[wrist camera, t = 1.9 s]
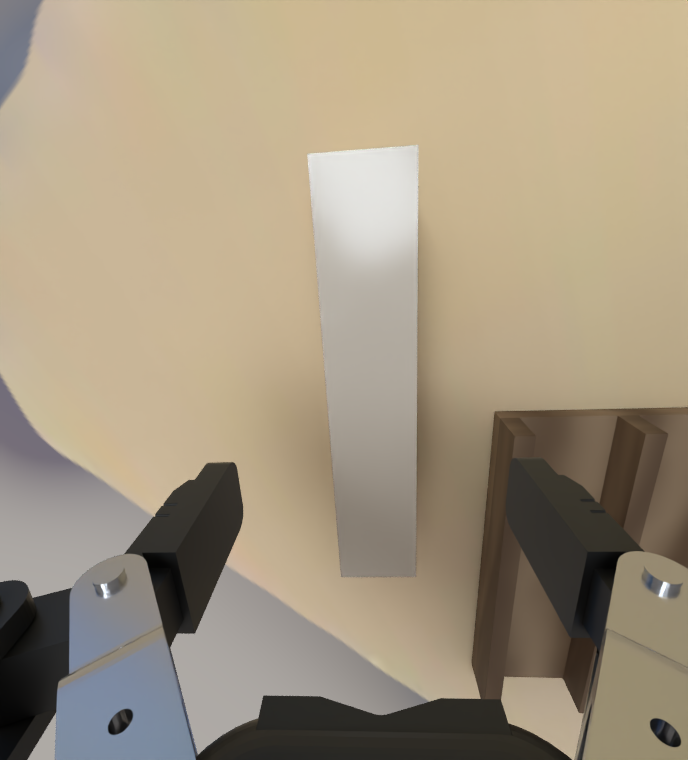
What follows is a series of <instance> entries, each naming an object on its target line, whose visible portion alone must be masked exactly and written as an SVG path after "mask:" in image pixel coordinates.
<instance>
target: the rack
mask: <svg viewBox="0 0 688 760" xmlns="http://www.w3.org/2000/svg"><path fill="white" fill-rule="evenodd" d="M530 457H541V458H543V459H544V460H545V461H546V462H547V463H548V464H549V465H550V466H551V467H552V469H553V470H554V471H555V472H556V473H557V474H558V475H565V476H567V477H568V478H570V479H572V480H573V481H575V482H577V483H578V484H580V485H582V486H583V487H584V488H585V489H586V490H587V491H588V492H589V493H590V494H591V495H592V496H593V498H594V499H595V502H598V503H599V504H600V505H601V506H602V507H603V508H604V509H605V511H606V513H609V514H610V515H611V517H612V518H613V519H614V520H615V521H616V522H617V523H618V524H619V525H620V526H621V527H622V528H623V529H624V530H625V531H626V532H627V533H628V534H629V536H630V537H631V538H632V539H633V540H634V541H635V542H636V543H637V544H638V545H639V546H640V547H641V548H642V549H643V550H644V551H645V552H649V553H653V554H657V555H660V556H663V557H666V558H668V559H671V560H673V561H675V562H677V563H679V564H680V565H682V566H684V567H685V568H687V569H688V408H644V409H597V410H550V411H503V412H495V416H494V427H493V438H492V449H491V460H490V471H489V482H488V493H487V504H486V514H485V525H484V536H483V547H482V558H481V569H480V580H479V591H478V602H477V613H476V624H475V635H474V645H473V656H472V666H473V670H474V674H475V678H476V682H477V685H478V689H479V693H480V697H481V699H501V695H502V688H503V680H504V676H505V677H546V678H563V679H564V681H565V683H566V686H567V688H568V690H569V692H570V694H571V696H572V699H573V701H574V703H575V705H576V707H577V709H578V712H579V713H584V709H585V704H586V699H587V694H588V688H589V683H590V678H591V673H592V668H593V662H594V657H595V653H596V649H597V647H596V646H595V644H594V642H593V640H592V639H591V638H570V637H569V635H568V633H567V631H566V629H565V628H564V626H563V624H562V622H561V620H560V618H559V616H558V615H557V613H556V611H555V609H554V607H553V605H552V604H551V602H550V600H549V598H548V596H547V594H546V593H545V591H544V589H543V587H542V585H541V583H540V582H539V580H538V578H537V576H536V574H535V572H534V570H533V569H532V567H531V565H530V563H529V561H528V559H527V558H526V556H525V554H524V552H523V550H522V548H521V547H520V545H519V543H518V541H517V539H516V537H515V535H514V534H513V532H512V530H511V528H510V526H509V523H508V520H507V516H506V495H507V486H508V477H509V468H510V463H511V460H512V459H513V458H530Z"/></svg>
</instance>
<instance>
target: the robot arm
mask: <svg viewBox="0 0 688 760" xmlns="http://www.w3.org/2000/svg"><path fill="white" fill-rule="evenodd" d="M506 516H507V520H508V523H509V526H510V528H511V530H512V532H513V534H514V535H515V537H516V539H517V541H518V543H519V545H520V547H521V548H522V550H523V552H524V554H525V556H526V558H527V559H528V561H529V563H530V565H531V567H532V569H533V570H534V572H535V574H536V576H537V578H538V580H539V582H540V583H541V585H542V587H543V589H544V591H545V593H546V594H547V596H548V598H549V600H550V602H551V604H552V605H553V607H554V609H555V611H556V613H557V615H558V616H559V618H560V620H561V622H562V624H563V626H564V628H565V629H566V631H567V633H568V635H569V637H570V638H591V639H592V640H593V642H594V644H595V646H596V647H597V649H596V653H595V657H594V662H593V668H592V673H591V678H590V683H589V688H588V694H587V699H586V704H585V709H584V715H583V720H582V725H581V730H580V735H579V740H578V745H577V750H576V754H575V759H574V760H688V569H687V568H685V567H684V566H682V565H680V564H679V563H677V562H675V561H673V560H671V559H668V558H666V557H663V556H660V555H657V554H653V553H649V552H645V551H644V550H643V549H642V548H641V547H640V546H639V545H638V544H637V543H636V542H635V541H634V540H633V539H632V538H631V537H630V536H629V534H628V533H627V532H626V531H625V530H624V529H623V528H622V527H621V526H620V525H619V524H618V523H617V522H616V521H615V520H614V519H613V518H612V517H611V515H610V514H609V513H606V511H605V509H604V508H603V507H602V506H601V505H600V504H599V503H598V502H595V499H594V498H593V496H592V495H591V494H590V493H589V492H588V491H587V490H586V489H585V488H584V487H583V486H582V485H580V484H578V483H577V482H575V481H573V480H572V479H570V478H568V477H567V476H565V475H558V474H557V473H556V472H555V471H554V470H553V469H552V467H551V466H550V465H549V464H548V463H547V462H546V461H545V460H544V459H543V458H541V457H530V458H513V459H512V460H511V463H510V468H509V477H508V486H507V495H506ZM242 520H243V503H242V497H241V491H240V484H239V478H238V472H237V467H236V465H235V463H233V462H223V463H207V464H206V465H205V467H204V468H203V469H202V471H201V472H200V473H199V475H198V476H197V478H196V479H195V480H188V481H187V482H185V483H184V484H183V485H181V486H180V487H178V488H177V489H176V490H174V491H173V492H172V494H171V495H170V496H169V497H168V499H167V500H166V501H165V503H164V506H161V508H160V509H159V510H158V511H157V513H156V514H155V517H153V518H152V519H151V520H150V522H149V523H148V524H147V526H146V527H145V528H144V529H143V531H142V532H141V533H140V535H139V536H138V537H137V538H136V540H135V541H134V542H133V544H132V545H131V546H130V548H129V549H128V550H127V551H126V553H125V554H123V555H118V556H114V557H111V558H108V559H106V560H104V561H102V562H100V563H98V564H96V565H95V566H93V567H92V568H90V569H89V570H88V571H87V572H85V573H84V574H83V575H82V576H81V577H80V578H79V579H78V580H77V581H76V583H75V584H74V586H73V587H72V588H70V589H66V590H63V591H59V592H54V593H50V594H47V595H43V596H39V597H34V598H32V596H31V593H30V591H29V589H28V586H27V585H26V584H25V583H24V582H22V581H16V580H14V581H13V580H12V581H4V582H0V760H27V759H28V757H29V756H30V754H31V752H32V751H33V749H34V748H35V745H36V744H37V743H38V741H39V739H40V738H41V736H42V734H43V733H44V731H45V730H46V728H47V726H48V725H49V723H50V721H51V720H52V718H53V716H54V715H55V713H56V740H55V760H572V759H570V758H569V757H568V756H567V755H566V754H564V753H563V752H561V751H560V750H559V749H557V748H556V747H554V746H553V745H552V744H550V743H549V742H547V741H545V740H543V739H542V738H540V737H538V736H536V735H535V734H533V733H531V732H529V731H526V730H524V729H522V728H520V727H517V726H515V725H512V724H509V723H508V721H507V718H506V715H505V712H504V708H503V705H502V702H501V699H444V698H441V699H437V700H434V701H431V702H427V703H424V704H421V705H417V706H414V707H411V708H407V709H404V710H401V711H397V712H394V713H391V714H387V715H375V714H372V713H369V712H366V711H363V710H360V709H356V708H354V707H351V706H347V705H344V704H341V703H338V702H335V701H332V700H329V699H326V698H323V697H313V696H311V697H310V696H263V700H262V705H261V709H260V714H259V718H258V719H255V720H252V721H249V722H247V723H245V724H242V725H240V726H238V727H236V728H234V729H232V730H231V731H229V732H227V733H226V734H224V735H222V736H221V737H219V738H218V739H217V740H215V741H214V742H213V743H212V744H210V745H209V746H207V747H206V748H205V749H204V750H203V751H202V752H201V753H200V754H199V755H198V753H197V750H196V746H195V742H194V738H193V734H192V731H191V727H190V723H189V719H188V715H187V711H186V707H185V703H184V699H183V696H182V692H181V688H180V684H179V680H178V676H177V672H176V668H175V664H174V661H173V657H172V653H171V649H170V647H171V645H172V642H173V640H174V638H175V636H176V634H177V633H195V632H196V630H197V628H198V625H199V623H200V621H201V618H202V616H203V613H204V611H205V609H206V607H207V604H208V602H209V600H210V597H211V595H212V593H213V591H214V588H215V586H216V584H217V581H218V579H219V577H220V574H221V572H222V570H223V568H224V565H225V563H226V561H227V558H228V556H229V554H230V551H231V549H232V547H233V545H234V542H235V540H236V538H237V535H238V533H239V531H240V528H241V525H242Z"/></svg>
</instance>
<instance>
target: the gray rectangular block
mask: <svg viewBox="0 0 688 760" xmlns="http://www.w3.org/2000/svg"><path fill="white" fill-rule="evenodd" d="M308 167H309V179H310V192H311V204H312V217H313V230H314V242H315V255H316V268H317V280H318V293H319V305H320V318H321V331H322V343H323V356H324V368H325V381H326V394H327V406H328V419H329V432H330V444H331V457H332V469H333V482H334V495H335V507H336V520H337V532H338V545H339V558H340V570H341V577H416V489H417V301H418V145H411V146H399V147H387V148H374V149H362V150H349V151H337V152H325V153H312V154H308Z"/></svg>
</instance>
